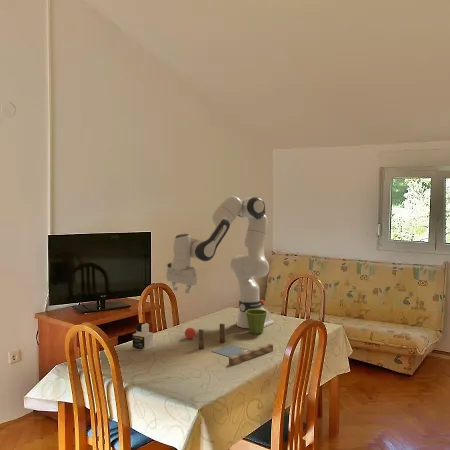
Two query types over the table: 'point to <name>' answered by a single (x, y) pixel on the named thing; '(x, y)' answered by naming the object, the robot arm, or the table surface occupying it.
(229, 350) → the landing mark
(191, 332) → the ball
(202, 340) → the post
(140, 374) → the table surface
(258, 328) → the plant pot
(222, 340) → the post
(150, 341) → the medicine bottle
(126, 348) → the table surface
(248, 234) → the robot arm
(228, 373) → the table surface
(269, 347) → the stopper wall
